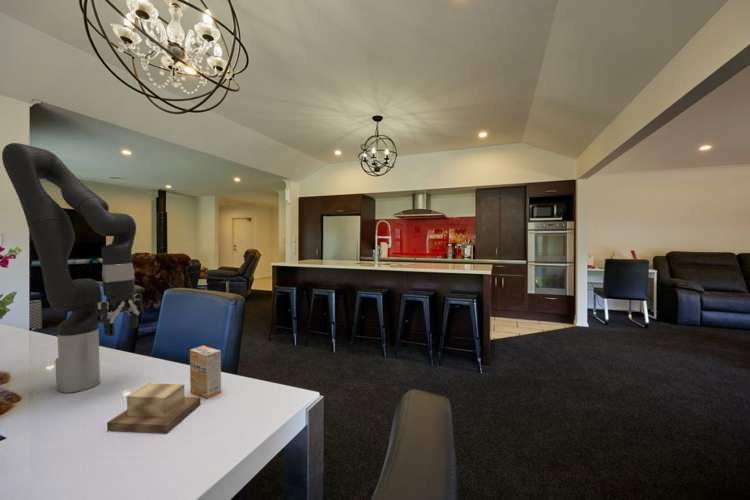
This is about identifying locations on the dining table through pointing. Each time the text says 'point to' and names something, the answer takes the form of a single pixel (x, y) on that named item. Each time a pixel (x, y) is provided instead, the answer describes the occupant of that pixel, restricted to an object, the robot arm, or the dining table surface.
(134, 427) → the board
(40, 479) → the dining table surface
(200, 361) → the supplement box
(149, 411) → the oak block
